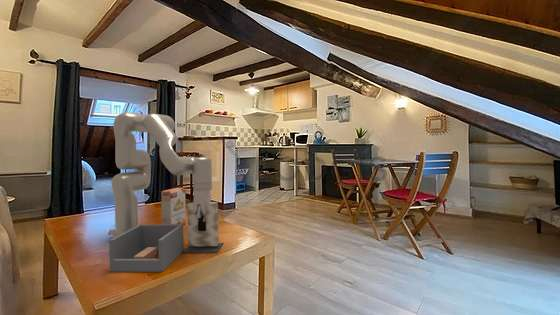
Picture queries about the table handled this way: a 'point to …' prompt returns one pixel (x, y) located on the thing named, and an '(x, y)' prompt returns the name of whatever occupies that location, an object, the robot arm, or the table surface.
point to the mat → (203, 249)
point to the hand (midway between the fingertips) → (203, 229)
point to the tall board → (211, 233)
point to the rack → (141, 238)
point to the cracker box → (173, 206)
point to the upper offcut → (146, 253)
